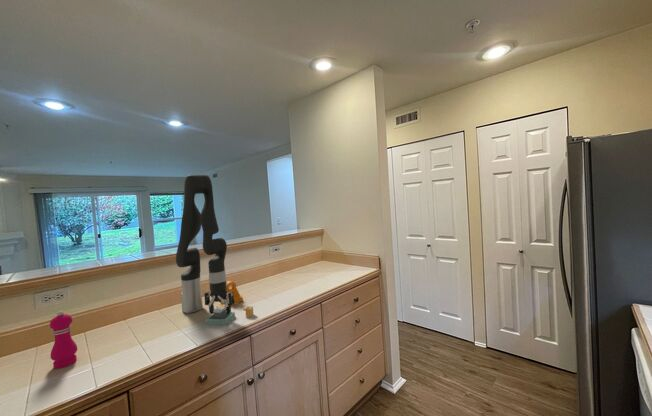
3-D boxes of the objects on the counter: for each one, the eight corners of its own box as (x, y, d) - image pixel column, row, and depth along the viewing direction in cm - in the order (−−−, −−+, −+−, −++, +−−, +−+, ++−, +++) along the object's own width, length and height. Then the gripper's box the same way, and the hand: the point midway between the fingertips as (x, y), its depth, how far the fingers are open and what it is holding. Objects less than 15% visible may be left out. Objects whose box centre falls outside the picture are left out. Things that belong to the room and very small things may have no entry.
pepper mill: (83, 357, 104) (78, 306, 104) (66, 368, 97) (60, 314, 96) (64, 358, 104) (59, 307, 103) (45, 370, 97) (40, 316, 96)
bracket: (224, 307, 146) (222, 285, 145) (220, 304, 151) (218, 283, 151) (243, 301, 152) (242, 280, 152) (238, 298, 158) (237, 278, 158)
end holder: (206, 324, 126) (205, 319, 126) (216, 316, 134) (215, 311, 134) (225, 325, 124) (225, 319, 124) (235, 317, 132) (234, 312, 132)
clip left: (217, 314, 137) (216, 306, 136) (220, 312, 140) (219, 304, 139) (223, 314, 136) (223, 307, 136) (226, 312, 139) (226, 304, 139)
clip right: (253, 314, 134) (252, 306, 134) (250, 317, 131) (250, 309, 131) (246, 314, 135) (246, 306, 134) (243, 317, 132) (243, 309, 131)
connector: (214, 322, 127) (213, 310, 127) (219, 318, 131) (218, 306, 131) (221, 323, 127) (220, 310, 126) (226, 319, 130) (225, 307, 130)
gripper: (199, 282, 126) (202, 316, 127) (226, 282, 123) (229, 317, 124) (209, 278, 133) (211, 310, 134) (235, 277, 131) (237, 310, 131)
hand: (220, 313), depth 129 cm, fingers open, 8 cm apart
